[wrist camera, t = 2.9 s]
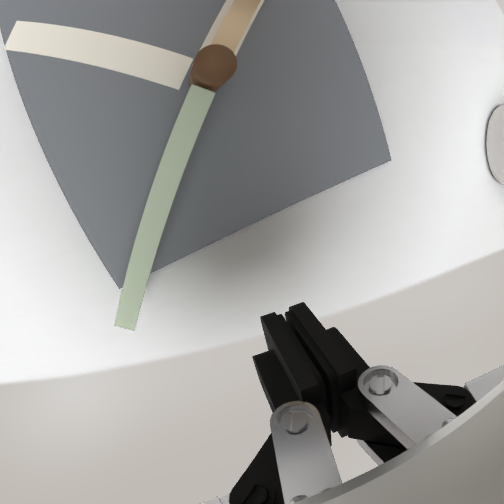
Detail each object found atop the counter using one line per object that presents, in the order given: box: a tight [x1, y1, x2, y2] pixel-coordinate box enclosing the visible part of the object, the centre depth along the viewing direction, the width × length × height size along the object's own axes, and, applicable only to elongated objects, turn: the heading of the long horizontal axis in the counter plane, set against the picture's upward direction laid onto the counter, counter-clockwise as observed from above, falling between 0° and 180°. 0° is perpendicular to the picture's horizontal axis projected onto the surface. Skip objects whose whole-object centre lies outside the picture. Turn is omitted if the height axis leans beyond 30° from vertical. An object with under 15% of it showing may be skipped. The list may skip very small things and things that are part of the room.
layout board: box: [0, 0, 391, 289], centre depth 13 cm, size 20×18×1 cm
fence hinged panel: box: [114, 84, 215, 331], centre depth 14 cm, size 11×1×3 cm, turn 157°
